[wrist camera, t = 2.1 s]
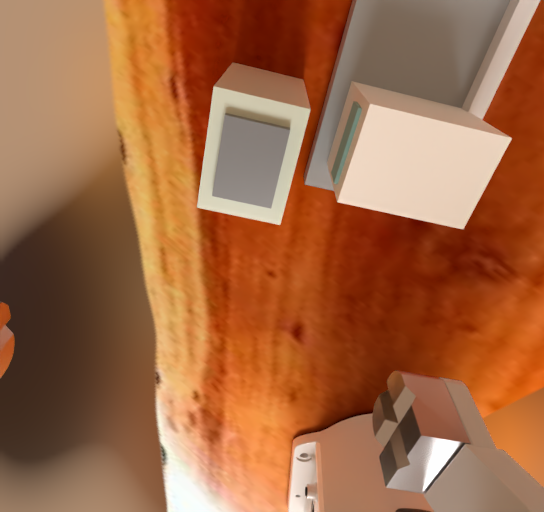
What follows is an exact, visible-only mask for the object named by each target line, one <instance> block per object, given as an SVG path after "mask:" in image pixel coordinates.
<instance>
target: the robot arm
mask: <svg viewBox="0 0 544 512" xmlns="http://www.w3.org/2000/svg"><path fill="white" fill-rule="evenodd" d="M10 318H11V316H10V312H9V307H8V305H6V304H4V303H2V302H0V378H1V376H2V375H3V374H4V372H5V371H6V369H7V368H8V366H9V363H10V361H11V358H12V355H13V352H14V335H13V333H12V332H11V331H10V330H9V329H8V328H7V327H6V326H5V324H6V323H7V322H8V320H9V319H10ZM387 385H388V389H389V390H387V391H385V392H383V393H381V394H380V395H379V396H378V398H377V400H376V402H375V404H374V409H373V413H372V414H365V415H360V416H355V417H352V418H349V419H346V420H343V421H341V422H339V423H336V424H335V425H333V426H331V427H329V428H327V429H325V430H323V431H320V432H315V433H310V434H305V435H302V436H299V437H297V438H295V439H294V440H293V445H292V457H291V469H290V480H289V492H288V504H287V506H288V512H544V487H542V486H541V485H540V484H539V483H538V482H537V481H536V480H535V479H534V478H533V477H532V476H531V475H530V474H529V473H527V472H526V471H525V470H524V469H523V468H522V467H521V466H520V465H519V464H518V463H517V462H516V461H515V460H514V459H513V458H511V456H509V455H508V454H507V453H506V452H505V451H504V450H501V449H497V448H496V446H495V444H494V442H493V440H492V438H491V436H490V434H489V432H488V430H487V427H486V425H485V423H484V421H483V419H482V417H481V415H480V413H479V411H478V409H477V407H476V405H475V403H474V400H473V398H472V396H471V394H470V392H469V390H468V388H467V386H466V385H465V384H464V383H463V382H462V381H459V380H453V379H447V378H441V377H439V378H438V377H434V376H428V375H422V374H416V373H410V372H403V371H397V370H395V371H394V372H393V373H391V375H390V376H389V378H388V380H387Z"/></svg>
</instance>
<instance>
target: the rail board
mask: <svg viewBox="0 0 544 512" xmlns="http://www.w3.org/2000/svg"><path fill="white" fill-rule="evenodd" d="M539 2H540V0H353V1H352V4H351V8H350V11H349V15H348V19H347V22H346V26H345V29H344V33H343V37H342V40H341V44H340V47H339V51H338V55H337V58H336V62H335V65H334V69H333V73H332V76H331V80H330V83H329V87H328V91H327V94H326V98H325V101H324V105H323V108H322V112H321V116H320V119H319V123H318V126H317V130H316V134H315V137H314V141H313V144H312V148H311V152H310V155H309V159H308V162H307V166H306V170H305V173H304V183H305V185H309V186H314V187H318V188H323V189H327V190H332V191H334V192H335V196H336V199H337V202H339V203H344V204H348V205H353V206H357V207H362V208H367V209H371V210H376V211H380V212H385V213H390V214H394V215H399V216H403V217H408V218H413V219H417V220H422V221H426V222H431V223H436V224H440V225H445V226H449V227H454V228H459V229H464V227H465V225H466V223H467V222H468V220H469V218H470V216H471V214H472V212H473V210H474V209H475V207H476V205H477V203H478V201H479V199H480V197H481V195H482V194H483V192H484V190H485V188H486V186H487V184H488V182H489V181H490V179H491V177H492V175H493V173H494V171H495V169H496V167H497V166H498V164H499V162H500V160H501V158H502V156H503V154H504V152H505V151H506V149H507V147H508V145H509V143H510V141H511V139H512V138H511V137H509V136H508V135H506V134H504V133H503V132H501V131H500V130H498V129H496V128H495V127H493V126H491V125H490V124H488V123H486V122H485V121H483V120H482V119H483V117H484V115H485V113H486V111H487V109H488V107H489V105H490V103H491V101H492V99H493V97H494V95H495V93H496V91H497V88H498V86H499V84H500V82H501V80H502V78H503V76H504V74H505V72H506V70H507V68H508V66H509V64H510V62H511V60H512V58H513V55H514V53H515V51H516V49H517V47H518V45H519V43H520V41H521V39H522V37H523V35H524V33H525V31H526V29H527V27H528V25H529V22H530V20H531V18H532V16H533V14H534V12H535V10H536V8H537V6H538V4H539Z"/></svg>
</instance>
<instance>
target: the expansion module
mask: <svg viewBox="0 0 544 512" xmlns="http://www.w3.org/2000/svg"><path fill="white" fill-rule="evenodd" d="M310 110H311V108H310V104H309V100H308V96H307V92H306V88H305V83H304V80H303V79H299V78H295V77H291V76H287V75H283V74H279V73H275V72H271V71H267V70H263V69H259V68H254V67H250V66H246V65H242V64H238V63H234V62H233V63H232V64H231V65H230V66H229V68H228V69H227V70H226V71H225V73H224V74H223V75H222V76H221V78H220V79H219V80H218V81H217V83H216V84H215V85H214V87H213V94H212V102H211V109H210V116H209V123H208V131H207V138H206V145H205V152H204V159H203V167H202V174H201V181H200V188H199V196H198V203H197V208H201V209H206V210H211V211H216V212H220V213H225V214H230V215H235V216H240V217H244V218H249V219H254V220H259V221H263V222H268V223H273V224H278V225H280V224H281V220H282V216H283V213H284V209H285V205H286V201H287V197H288V194H289V190H290V186H291V182H292V179H293V175H294V171H295V167H296V163H297V160H298V156H299V152H300V148H301V144H302V141H303V137H304V133H305V129H306V126H307V122H308V118H309V114H310Z"/></svg>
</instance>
